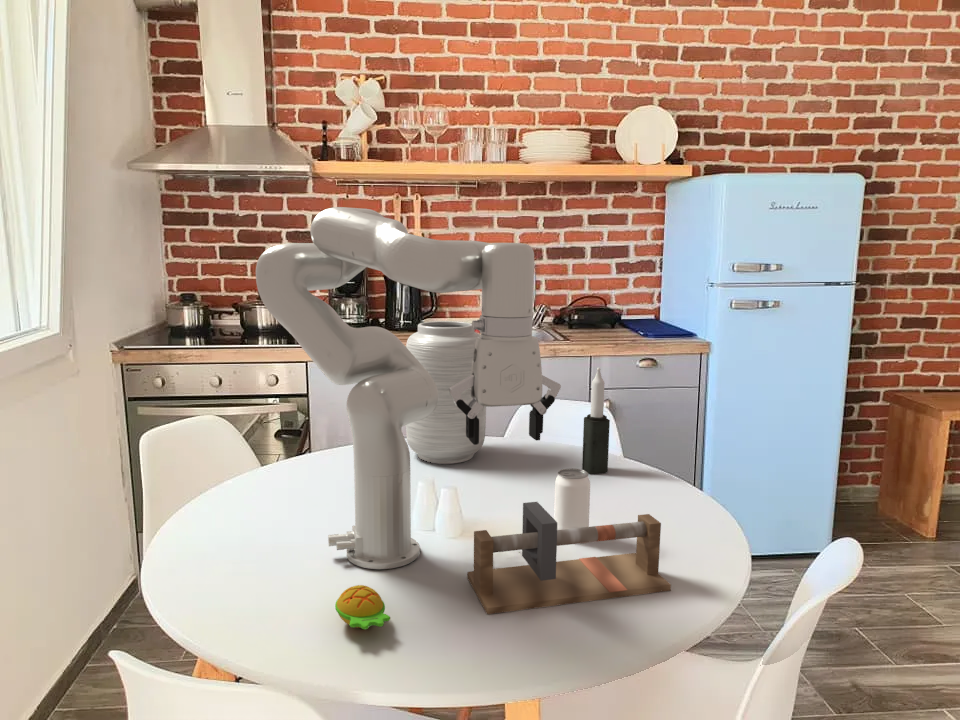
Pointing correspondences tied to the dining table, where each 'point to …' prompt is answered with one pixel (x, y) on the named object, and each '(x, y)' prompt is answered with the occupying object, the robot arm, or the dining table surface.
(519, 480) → the dining table surface
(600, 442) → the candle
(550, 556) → the collar
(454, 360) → the vase
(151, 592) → the dining table surface
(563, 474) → the can
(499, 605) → the rail
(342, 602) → the toy pineapple
